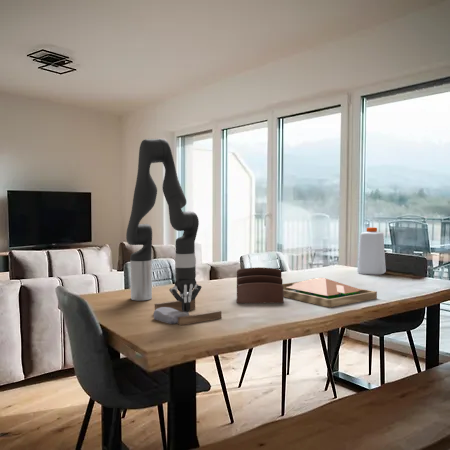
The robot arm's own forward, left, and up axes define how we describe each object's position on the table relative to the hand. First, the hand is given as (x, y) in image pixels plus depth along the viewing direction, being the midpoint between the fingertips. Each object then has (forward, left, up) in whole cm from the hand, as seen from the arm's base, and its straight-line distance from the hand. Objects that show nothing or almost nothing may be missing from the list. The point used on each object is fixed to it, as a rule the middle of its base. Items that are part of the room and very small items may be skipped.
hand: (186, 312), depth 164 cm
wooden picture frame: (+1, +69, -2) cm, 69 cm away
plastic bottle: (-29, +147, -2) cm, 150 cm away
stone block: (+1, -6, -2) cm, 6 cm away
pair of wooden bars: (0, +1, -2) cm, 2 cm away
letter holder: (-6, +40, -2) cm, 40 cm away
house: (0, +72, -2) cm, 72 cm away
